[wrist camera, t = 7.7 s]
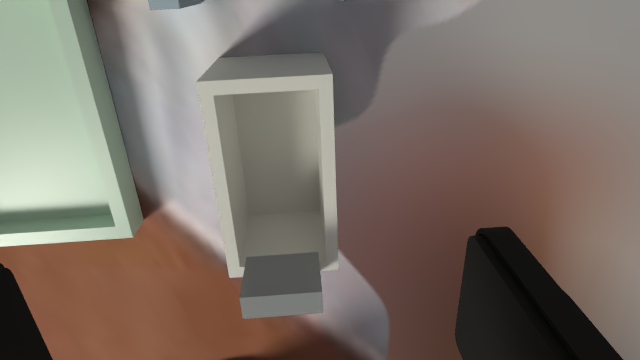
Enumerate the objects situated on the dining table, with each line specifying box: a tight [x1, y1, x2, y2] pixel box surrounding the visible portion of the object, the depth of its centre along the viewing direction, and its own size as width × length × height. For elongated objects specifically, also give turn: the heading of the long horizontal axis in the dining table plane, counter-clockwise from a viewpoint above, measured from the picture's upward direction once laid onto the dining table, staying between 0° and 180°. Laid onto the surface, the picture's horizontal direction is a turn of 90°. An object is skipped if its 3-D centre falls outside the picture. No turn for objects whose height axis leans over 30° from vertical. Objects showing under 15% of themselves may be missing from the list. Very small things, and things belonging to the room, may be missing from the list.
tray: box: [0, 0, 144, 247], centre depth 22 cm, size 15×10×2 cm
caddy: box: [196, 52, 339, 319], centre depth 21 cm, size 10×6×9 cm, turn 2°
